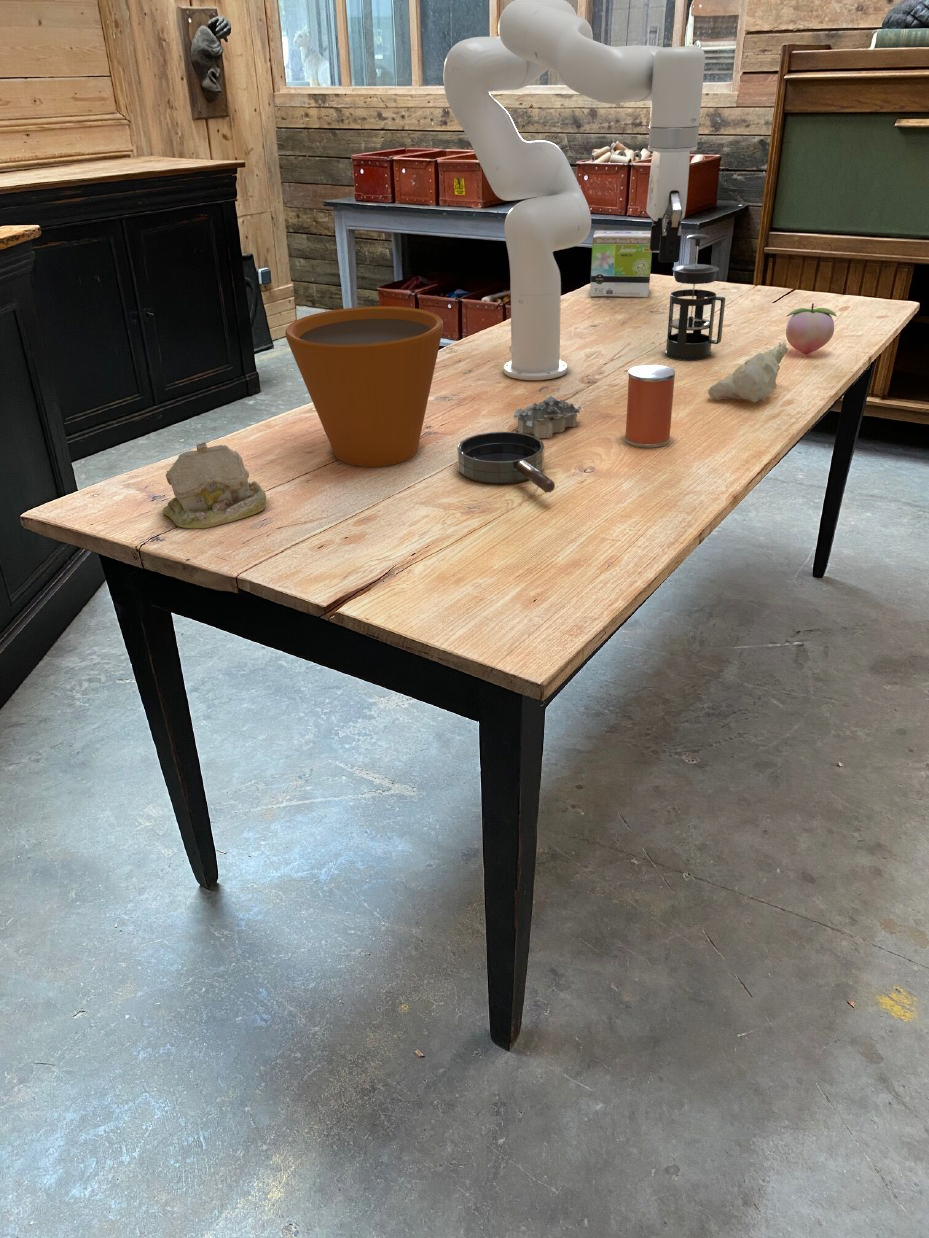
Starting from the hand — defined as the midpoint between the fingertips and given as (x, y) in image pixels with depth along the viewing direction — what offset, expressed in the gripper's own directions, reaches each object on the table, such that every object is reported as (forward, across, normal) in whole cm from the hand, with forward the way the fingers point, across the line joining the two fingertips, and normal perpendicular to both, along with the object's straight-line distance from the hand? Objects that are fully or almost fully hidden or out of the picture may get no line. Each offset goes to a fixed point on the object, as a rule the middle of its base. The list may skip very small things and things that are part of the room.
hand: (663, 256), depth 154 cm
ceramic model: (+25, +42, -68) cm, 84 cm away
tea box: (+26, -89, +5) cm, 93 cm away
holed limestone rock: (+25, -3, +18) cm, 31 cm away
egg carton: (+25, +12, -19) cm, 34 cm away
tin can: (+25, +19, -4) cm, 31 cm away
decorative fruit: (+25, -29, +35) cm, 52 cm away
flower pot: (+25, +20, -47) cm, 57 cm away
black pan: (+25, +29, -27) cm, 47 cm away
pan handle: (+23, +40, -22) cm, 51 cm away
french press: (+25, -30, +12) cm, 41 cm away
